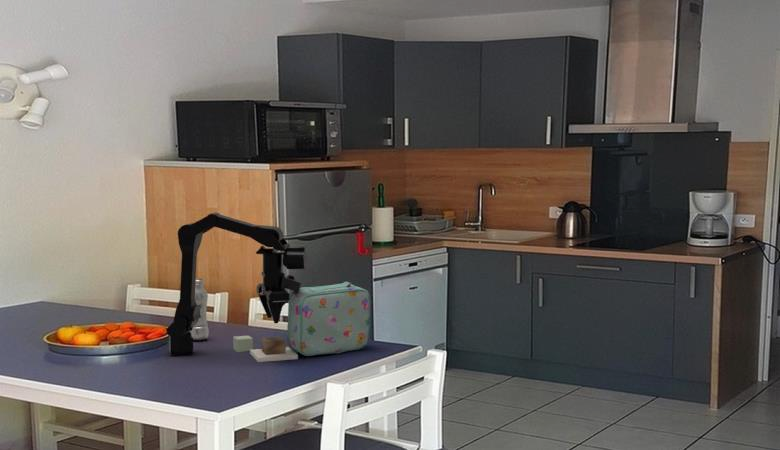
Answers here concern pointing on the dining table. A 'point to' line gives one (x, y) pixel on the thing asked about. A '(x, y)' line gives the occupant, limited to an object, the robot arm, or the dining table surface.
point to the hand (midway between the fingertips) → (272, 320)
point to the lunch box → (328, 319)
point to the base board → (262, 357)
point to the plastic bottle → (201, 327)
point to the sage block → (242, 343)
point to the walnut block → (273, 345)
